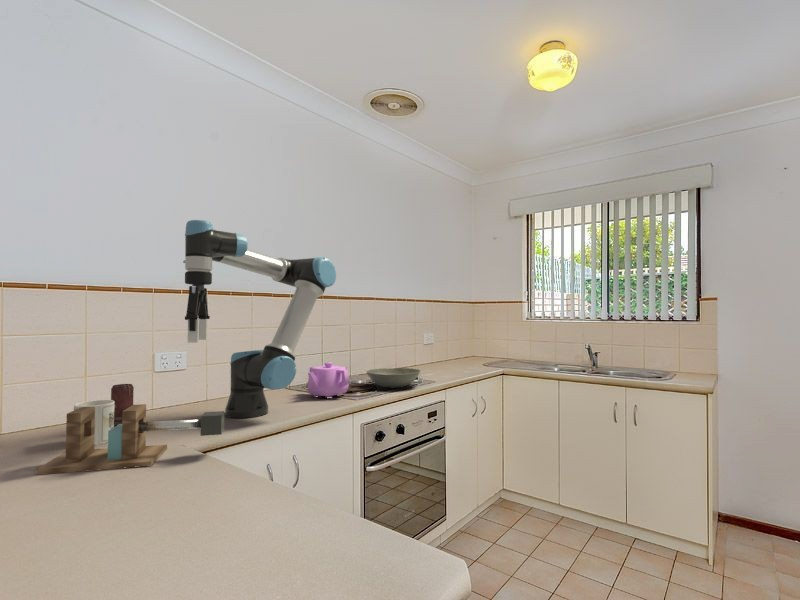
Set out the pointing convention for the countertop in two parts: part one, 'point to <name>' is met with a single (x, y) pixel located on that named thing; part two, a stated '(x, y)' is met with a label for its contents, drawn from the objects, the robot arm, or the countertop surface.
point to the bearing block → (88, 458)
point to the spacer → (115, 443)
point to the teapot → (328, 380)
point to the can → (121, 400)
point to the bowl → (393, 376)
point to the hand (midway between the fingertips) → (197, 341)
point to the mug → (101, 418)
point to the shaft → (189, 424)
